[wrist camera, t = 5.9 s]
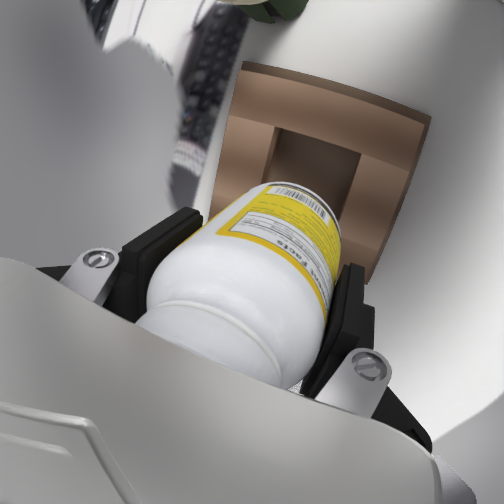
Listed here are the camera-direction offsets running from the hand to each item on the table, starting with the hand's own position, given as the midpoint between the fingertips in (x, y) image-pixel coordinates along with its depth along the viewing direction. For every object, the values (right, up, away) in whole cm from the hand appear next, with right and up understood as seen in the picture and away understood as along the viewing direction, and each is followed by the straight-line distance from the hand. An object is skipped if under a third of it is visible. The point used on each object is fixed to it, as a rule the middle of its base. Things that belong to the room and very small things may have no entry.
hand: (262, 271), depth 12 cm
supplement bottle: (+1, +2, +3) cm, 4 cm away
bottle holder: (+5, +8, +15) cm, 17 cm away
